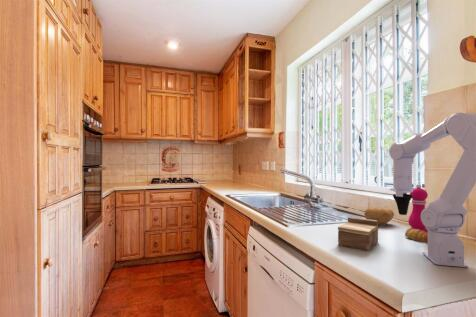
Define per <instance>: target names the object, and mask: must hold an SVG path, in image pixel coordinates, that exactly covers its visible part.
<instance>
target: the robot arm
mask: <svg viewBox="0 0 476 317" xmlns="http://www.w3.org/2000/svg"><path fill="white" fill-rule="evenodd" d="M449 136H451V137H452V139H453V140H454V141H455V142H456V143H457V144H458V145H459V146H460V147H462V149H463V153H462V154H461V156H460V158H459V160H458V161H457V163H456V166H455V167H454V170H453V171H452V173H451V175H450V177H449V179H448V181H447V183H446V184H445V186H444V188H443V190H442V192H441V194H440V196H439V197H438V198H436V199H435V200H434V199H433V201H431V202H429V203H428V205H427V206H426V207H425V209H424V210H423V211H422V212H421V221H422V223H423V224H424V226H425V228H426V229H427V230H428V243H427V251H422V254H423V255H424V256H425V258H427V259H429V261H430V262H432V263H433V264H434V265H438V266H448V267H449V266H451V267H463V268H468V267H469V265H468V264H466V263H465V244H464V242H463V241H462V239H461V238H459V234H458V233H459V232H460V231H461V230H460V228H461V227H463V226H464V224H465V222H466V219H465V218H466V215H467V213H468V210H467V209H466V207H465V206H464V203H465V202H466V200H467V198H468V197H469V196H470V194H471V192H472V190H473V188H474V187H475V186H476V113H474V112H470V113H469V112H459V111H458V112H455V113H452V114H451V115H450V116H448V117H445V118H444V120H443V121H442V122H441V123H439V124H438V125H437V126H434V127H433V128H431V129H430V130H428V131H427V132H425V133H423V132H422V133H419V132H418V133H413V134H412V136H411V137H409V138H407V139H404V140H402V142H401V143H395V142H394V143H392V145H390V146H389V156H390V158H391V159H392V162H393V163H392V164H393V166H392V167H393V169H392V171H393V173H392V175H393V187H390V188H389V191H393V192H395V194H392V197H393V200H394V201H395V203H396V207H397V212H398V214H399V215H401V216H407V214H408V211H409V205H410V202H411V200H412V196H413V195H410V192H413V189H414V188H413V164H414V161H415V160H414V159H415V157H416V156H417V154H419V153H422V152H424V151H426V150H428V149H430V148H431V145H432V143H434V142H437V141H440V140H442V139H443V138H446V137H449Z"/></svg>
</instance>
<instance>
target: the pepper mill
mask: <svg viewBox="0 0 476 317" xmlns="http://www.w3.org/2000/svg"><path fill="white" fill-rule="evenodd" d="M412 189H413V192H409V194H410V195H413V196H412V198H411V200H410V202H411V204H412V210H411V212H410V215H409V216H408V225H409V226H410V228H414V229H419V230H423V231H424V232H427V233H428V229H426V228H425V226H424V224H423V223H422V221H421V212H422V211H423V210H424V209H425V208H426V204H427V200H426V199H427V198H428V192H427V190H426V189H424V188H422V185H421V184H419V183H418V184H416V185H415V187H414V188H412Z"/></svg>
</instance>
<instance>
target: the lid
mask: <svg viewBox="0 0 476 317" xmlns="http://www.w3.org/2000/svg"><path fill="white" fill-rule="evenodd" d="M376 229H378V230H379V225H378V221H377V220H370V219H366V218H361V217H360V218H359V217H356V216H355V217H353V216H348V217H347V222H344V223H343V224H341V225H340V226H337V232H338V231H344V232H350V233H356V234H361V235H367V236H369V235H370V234H371V233H373V232H374V231H375V230H376Z"/></svg>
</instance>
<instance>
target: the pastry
mask: <svg viewBox="0 0 476 317" xmlns="http://www.w3.org/2000/svg"><path fill="white" fill-rule="evenodd" d="M404 236H405V237H406V238H407V239H411V240H412V241H416V242H421V243H427V244H428V233H427V232H424V231H423V230H419V229H414V228H411V227H409V228H407V229H406V231H405V233H404Z"/></svg>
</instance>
